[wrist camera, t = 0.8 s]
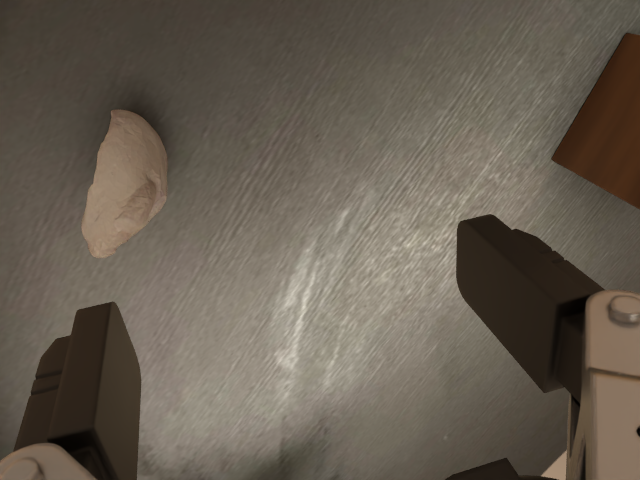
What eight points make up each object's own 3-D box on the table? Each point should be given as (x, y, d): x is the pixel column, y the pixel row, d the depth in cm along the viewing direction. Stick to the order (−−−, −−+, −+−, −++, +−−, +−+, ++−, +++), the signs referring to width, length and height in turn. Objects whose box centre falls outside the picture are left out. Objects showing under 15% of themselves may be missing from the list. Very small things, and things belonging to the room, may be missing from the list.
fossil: (109, 84, 28) (86, 145, 20) (177, 100, 29) (182, 164, 21) (96, 185, 31) (70, 278, 22) (159, 195, 32) (158, 287, 23)
